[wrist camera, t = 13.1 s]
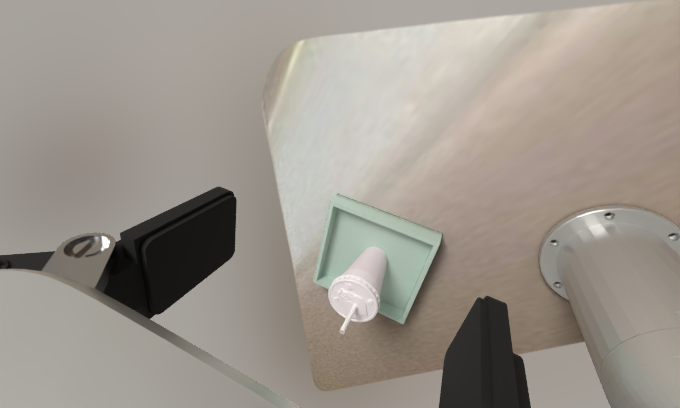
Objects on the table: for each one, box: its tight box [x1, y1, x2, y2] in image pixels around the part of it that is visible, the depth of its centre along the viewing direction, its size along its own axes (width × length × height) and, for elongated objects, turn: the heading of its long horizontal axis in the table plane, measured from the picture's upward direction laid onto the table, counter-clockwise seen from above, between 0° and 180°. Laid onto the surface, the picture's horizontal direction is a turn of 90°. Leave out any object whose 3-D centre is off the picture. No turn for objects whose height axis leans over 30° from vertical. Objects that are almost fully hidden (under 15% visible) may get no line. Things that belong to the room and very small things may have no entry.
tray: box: [313, 194, 442, 324], centre depth 44 cm, size 15×15×3 cm
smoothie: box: [328, 247, 388, 334], centre depth 38 cm, size 6×6×14 cm
